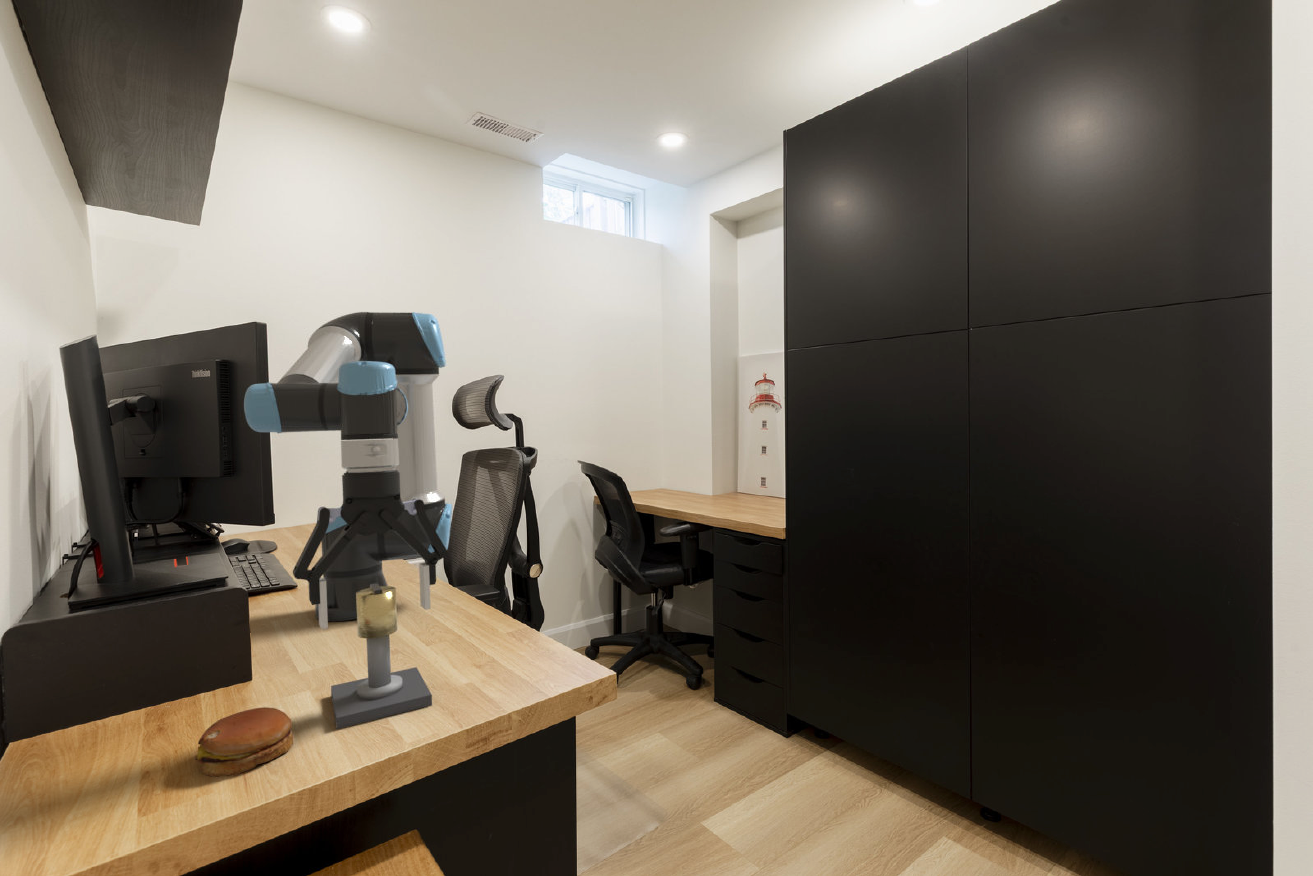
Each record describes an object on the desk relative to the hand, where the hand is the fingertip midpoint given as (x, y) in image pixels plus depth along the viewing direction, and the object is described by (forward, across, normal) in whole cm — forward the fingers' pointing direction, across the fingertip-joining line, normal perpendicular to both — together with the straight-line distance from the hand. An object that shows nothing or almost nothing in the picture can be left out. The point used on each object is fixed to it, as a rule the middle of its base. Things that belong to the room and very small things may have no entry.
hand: (376, 616), depth 88 cm
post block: (+12, 0, 0) cm, 12 cm away
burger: (+13, -16, -5) cm, 21 cm away
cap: (+2, 0, 0) cm, 2 cm away
